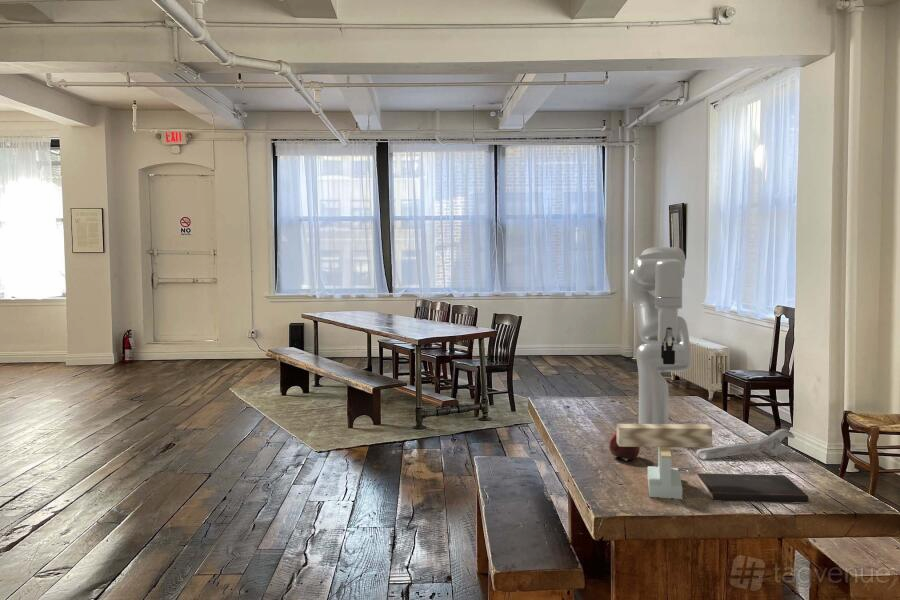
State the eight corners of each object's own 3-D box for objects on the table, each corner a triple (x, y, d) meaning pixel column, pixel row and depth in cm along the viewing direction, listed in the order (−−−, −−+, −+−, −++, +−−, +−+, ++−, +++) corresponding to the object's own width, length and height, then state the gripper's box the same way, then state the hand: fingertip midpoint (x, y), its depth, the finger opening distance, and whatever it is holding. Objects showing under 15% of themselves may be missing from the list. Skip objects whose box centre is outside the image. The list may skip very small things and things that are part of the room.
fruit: (626, 465, 205) (626, 431, 204) (602, 457, 212) (602, 425, 212) (647, 459, 210) (647, 426, 209) (623, 452, 217) (623, 420, 217)
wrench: (697, 467, 211) (793, 453, 212) (699, 469, 209) (796, 454, 210) (694, 441, 210) (790, 427, 212) (696, 443, 208) (794, 428, 210)
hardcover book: (696, 481, 192) (697, 473, 191) (784, 483, 189) (784, 475, 189) (712, 502, 176) (712, 493, 176) (808, 505, 173) (808, 496, 173)
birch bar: (706, 442, 188) (707, 424, 188) (711, 447, 184) (712, 428, 183) (616, 441, 190) (616, 423, 189) (619, 446, 185) (619, 428, 185)
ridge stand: (647, 476, 194) (647, 437, 193) (677, 478, 192) (678, 439, 191) (649, 496, 179) (649, 454, 178) (682, 499, 177) (682, 456, 176)
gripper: (653, 300, 212) (653, 356, 213) (656, 305, 195) (655, 366, 196) (679, 300, 210) (679, 357, 211) (684, 305, 193) (683, 366, 194)
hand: (667, 361), depth 204 cm, fingers open, 9 cm apart
